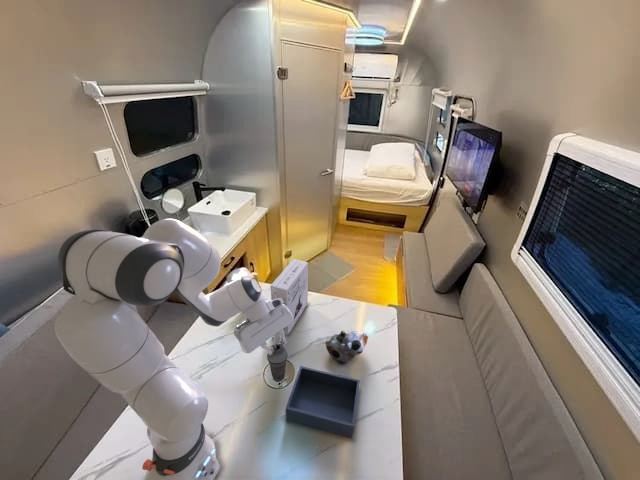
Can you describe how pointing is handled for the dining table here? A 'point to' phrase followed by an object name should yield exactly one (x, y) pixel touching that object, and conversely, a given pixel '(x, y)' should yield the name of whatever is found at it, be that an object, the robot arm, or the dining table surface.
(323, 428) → the blue open storage box
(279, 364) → the beverage cup
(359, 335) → the lucky cat figurine
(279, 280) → the cereal box
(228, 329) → the dining table surface
